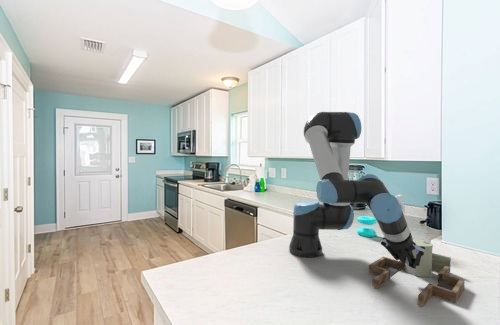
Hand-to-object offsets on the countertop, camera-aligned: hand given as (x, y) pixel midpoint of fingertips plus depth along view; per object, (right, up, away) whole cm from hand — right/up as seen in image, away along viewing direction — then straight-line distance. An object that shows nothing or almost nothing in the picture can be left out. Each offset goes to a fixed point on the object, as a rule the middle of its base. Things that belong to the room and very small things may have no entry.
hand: (412, 270), depth 91 cm
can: (+8, -4, +9) cm, 12 cm away
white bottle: (+19, -4, +42) cm, 46 cm away
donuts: (+9, -3, +56) cm, 57 cm away
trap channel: (+1, -4, +1) cm, 4 cm away
